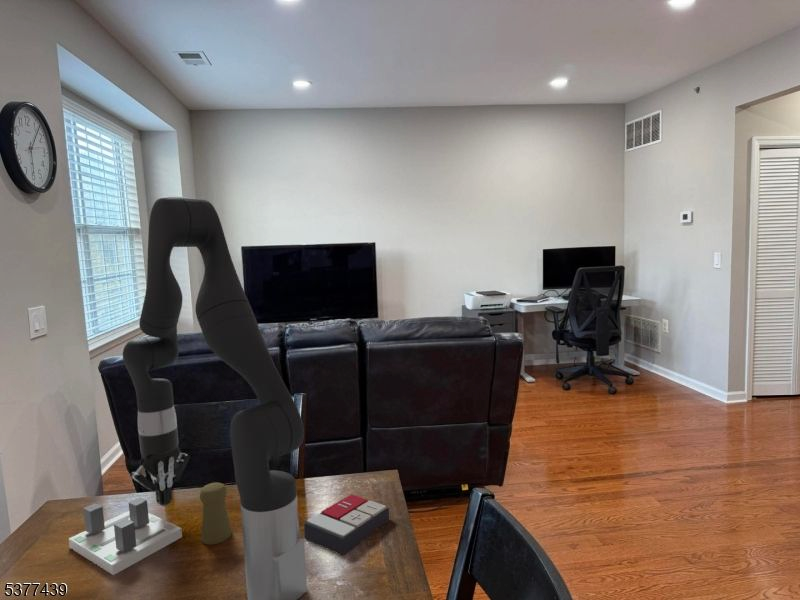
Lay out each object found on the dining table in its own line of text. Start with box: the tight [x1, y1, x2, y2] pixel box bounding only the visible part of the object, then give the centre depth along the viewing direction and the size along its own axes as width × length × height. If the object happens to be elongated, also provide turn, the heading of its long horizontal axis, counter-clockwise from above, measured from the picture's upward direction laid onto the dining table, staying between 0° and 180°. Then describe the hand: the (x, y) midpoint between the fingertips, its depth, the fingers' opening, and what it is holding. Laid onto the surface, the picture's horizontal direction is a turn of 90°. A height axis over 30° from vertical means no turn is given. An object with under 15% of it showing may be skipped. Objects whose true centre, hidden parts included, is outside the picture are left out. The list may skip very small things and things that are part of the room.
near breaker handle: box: [114, 518, 136, 553], centre depth 96 cm, size 3×2×5 cm
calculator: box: [303, 494, 390, 556], centre depth 105 cm, size 11×4×15 cm
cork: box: [199, 482, 233, 545], centre depth 103 cm, size 6×6×11 cm
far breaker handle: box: [82, 502, 105, 535], centre depth 103 cm, size 3×2×5 cm
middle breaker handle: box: [128, 497, 149, 528], centre depth 104 cm, size 3×2×5 cm
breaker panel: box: [68, 510, 183, 576], centre depth 102 cm, size 17×14×2 cm
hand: (164, 503), depth 109 cm, fingers closed
